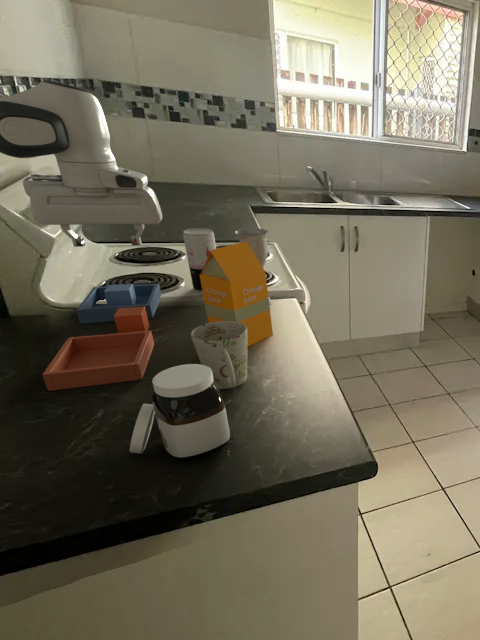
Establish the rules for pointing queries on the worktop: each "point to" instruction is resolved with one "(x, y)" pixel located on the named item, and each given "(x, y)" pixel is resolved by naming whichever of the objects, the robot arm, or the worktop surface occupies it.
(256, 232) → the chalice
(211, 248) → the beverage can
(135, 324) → the rust block
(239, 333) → the mug
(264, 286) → the orange juice
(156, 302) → the blue tray
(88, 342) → the rust tray
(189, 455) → the spread jar
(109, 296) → the blue block
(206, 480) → the worktop surface
